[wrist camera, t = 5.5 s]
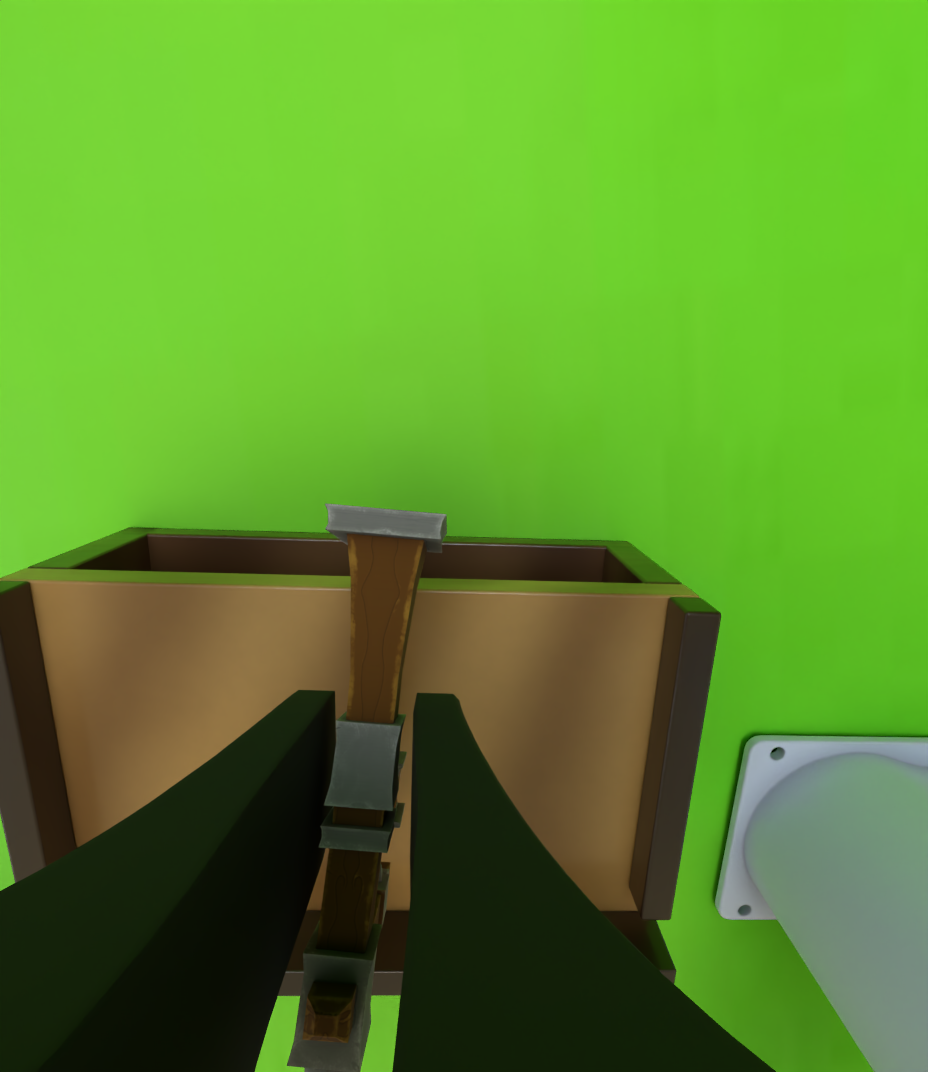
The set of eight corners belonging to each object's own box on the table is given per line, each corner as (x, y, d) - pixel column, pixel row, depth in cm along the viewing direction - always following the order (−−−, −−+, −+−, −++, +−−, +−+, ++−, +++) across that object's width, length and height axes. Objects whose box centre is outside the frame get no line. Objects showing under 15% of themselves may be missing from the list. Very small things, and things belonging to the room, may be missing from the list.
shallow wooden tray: (628, 540, 17) (738, 624, 11) (598, 799, 20) (673, 995, 13) (128, 526, 17) (-77, 606, 10) (161, 795, 19) (14, 998, 13)
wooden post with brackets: (325, 929, 11) (235, 1150, 6) (369, 544, 12) (320, 500, 8) (413, 936, 11) (386, 1162, 6) (447, 550, 12) (446, 511, 8)
